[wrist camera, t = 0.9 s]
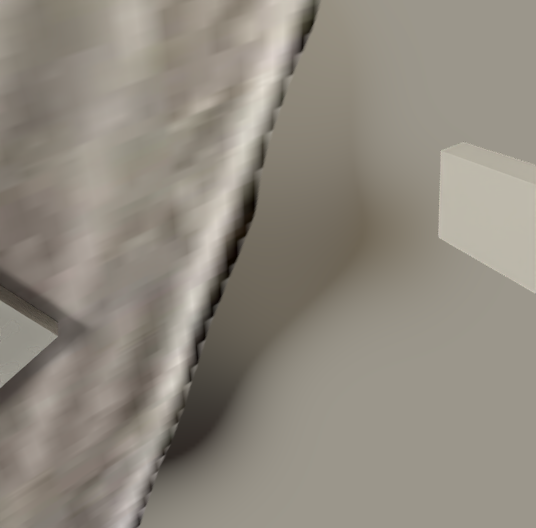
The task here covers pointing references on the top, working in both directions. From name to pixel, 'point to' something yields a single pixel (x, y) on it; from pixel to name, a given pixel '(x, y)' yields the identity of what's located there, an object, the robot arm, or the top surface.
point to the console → (21, 333)
